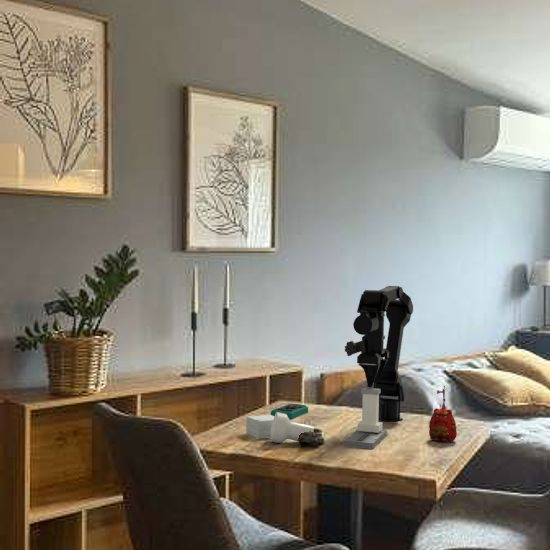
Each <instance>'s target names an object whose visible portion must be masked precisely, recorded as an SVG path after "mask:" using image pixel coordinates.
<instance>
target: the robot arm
mask: <svg viewBox="0 0 550 550" xmlns="http://www.w3.org/2000/svg"><path fill="white" fill-rule="evenodd" d="M356 312H357V313H356V314H359V315H357V317H355V319H354V321H353V324H352V325H353V329H354V331H355V333H357V334H358V335H361V340H358V341H356V342H354V341H353V340H350V341H347V342H346V345H345V346H344V352H345V353H346V354H347V355H346V356H347V357H350V356H352V355H356V354H358V353H360V354H358V355H357V357H356V358H357V359H356V363H357V364H358V366H360V367H361V368H362V369H363V371H364V374H365V375H364V376H365V379H366V383H367V388H376V389H381V393H380V394H379V414H378V420H380V421H384V422H395V421H404V418H402V417H401V402H406V400H405V399H406V393H405V389H404V386H403V383H402V377H401V375H400V373H399V364H400V358H401V357H400V356H401V349H402V345H403V344H402V343H403V336H404V329H405V327H406V326H407V325H408V324H409V323H410V321H411V317H412V315H413V312H414V304H413V302H412V298H411V297H410V296H409V295H408V294H407V293H406V292H404V289H403V287H402V286H400V285H388V286H385V287H384V288H381V289H379V290H378V289H377V290H372V289H365V290H363V292H362V294H361V295H360V299H359V304H358V307H357V310H356ZM385 316H386V319H387V321H388V324H389V326H388V333H387V340H386V347H385V348H384V346H385V345H384V340H385V339H386V335H385V332H384V330H385Z"/></svg>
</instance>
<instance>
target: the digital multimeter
mask: <svg viewBox="0 0 550 550" xmlns="http://www.w3.org/2000/svg"><path fill="white" fill-rule="evenodd" d="M276 412H279V413H284V414H286V415H287V416H288V418H289V419H290V420H294V419H296V418H298V417H301V416H302V415H305V414H308V413H309V407H308V406H307V405H304V404H302V403H301V404H300V403H288V404H285V405H283V406H280V407H277V408H273V409H272V410H271V411H270V415H272V416H275V414H276Z"/></svg>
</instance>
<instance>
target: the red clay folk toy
mask: <svg viewBox="0 0 550 550" xmlns="http://www.w3.org/2000/svg"><path fill="white" fill-rule="evenodd" d="M446 390H447V389H446V387H445V385H443V389H442V391H441V390H439V389H437V390H436V394H442V396H443V397H442V406H441V408H437V407H436V408H434V410H433V413H432V415H431V417H430V419H429V422H428V423H429V425H428V428H429V429H428V435H429V440H431V441H436V442H439V441H440V442H442V443H453V442H454V441H456V438H457V436H458V435H457V434H458V433H457V432H458V431H457V423H456V420H455V418H454V415H453V411H452V409H446V404H445V402H446V398H445V397H446Z"/></svg>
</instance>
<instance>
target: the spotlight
mask: <svg viewBox="0 0 550 550" xmlns="http://www.w3.org/2000/svg"><path fill="white" fill-rule="evenodd" d="M309 431H311V432H313V433H314V432H315V428H314V425H310V424H305V423H300V422H296V421H291V419H289V418H288V416H287V415H286V414H284V413H279V412H276V414H275V417H274V420H273V422H272V426H271V436H270V438H269V439H270V442H271V443H275V444H279V443H280V444H279V445H281V444H282V443H283V442H285V441H286V440H291V441H295V442H299V441H298V438H299V435H300V434H301V433H304V432H309Z"/></svg>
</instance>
